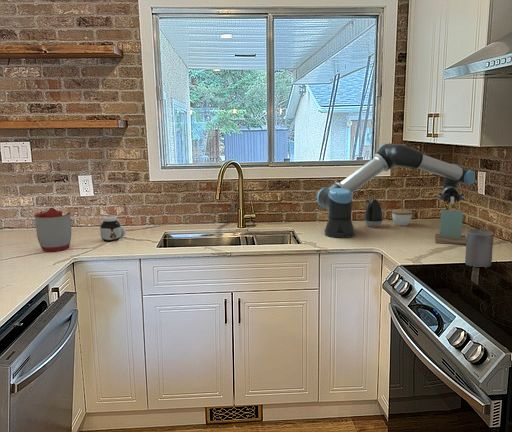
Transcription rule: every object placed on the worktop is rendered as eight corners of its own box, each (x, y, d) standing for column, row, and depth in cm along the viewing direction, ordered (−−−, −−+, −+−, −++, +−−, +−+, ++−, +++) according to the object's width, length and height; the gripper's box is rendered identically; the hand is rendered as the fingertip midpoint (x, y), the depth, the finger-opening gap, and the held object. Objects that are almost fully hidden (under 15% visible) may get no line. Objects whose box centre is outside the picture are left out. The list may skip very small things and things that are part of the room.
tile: (439, 234, 240) (441, 209, 238) (461, 236, 237) (462, 210, 234) (439, 235, 238) (441, 210, 236) (461, 237, 235) (463, 211, 232)
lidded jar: (406, 222, 274) (407, 206, 272) (414, 226, 263) (415, 209, 261) (388, 223, 272) (389, 207, 270) (396, 227, 262) (397, 210, 260)
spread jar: (100, 242, 236) (98, 219, 234) (102, 237, 247) (101, 215, 245) (125, 241, 239) (123, 218, 236) (126, 235, 249) (125, 214, 247)
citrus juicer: (83, 246, 229) (80, 205, 225) (52, 255, 214) (47, 211, 210) (62, 242, 236) (58, 203, 233) (30, 250, 222) (26, 208, 218)
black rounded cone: (370, 223, 273) (371, 197, 270) (386, 225, 265) (387, 199, 262) (360, 225, 266) (360, 199, 263) (375, 228, 258) (376, 201, 256)
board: (435, 234, 243) (435, 233, 243) (465, 236, 238) (465, 235, 238) (435, 243, 226) (435, 241, 226) (467, 245, 222) (467, 244, 222)
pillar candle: (473, 259, 198) (475, 224, 196) (496, 265, 191) (499, 228, 188) (459, 264, 193) (462, 228, 190) (482, 270, 185) (485, 232, 182)
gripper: (463, 201, 261) (466, 208, 240) (437, 200, 266) (438, 207, 244) (463, 187, 260) (466, 194, 238) (438, 187, 264) (439, 193, 243)
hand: (452, 201), depth 241 cm, fingers closed
